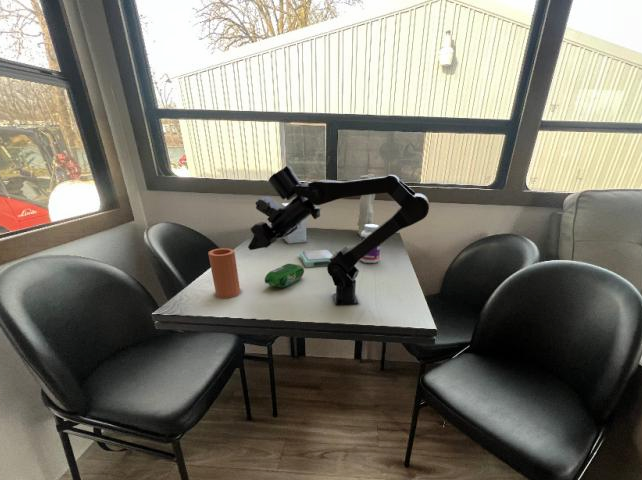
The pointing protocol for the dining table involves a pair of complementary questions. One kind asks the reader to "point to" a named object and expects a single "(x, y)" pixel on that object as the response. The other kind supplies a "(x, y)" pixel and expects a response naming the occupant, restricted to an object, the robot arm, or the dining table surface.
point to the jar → (224, 272)
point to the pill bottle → (375, 253)
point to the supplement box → (296, 232)
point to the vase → (366, 208)
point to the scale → (316, 258)
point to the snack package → (284, 275)
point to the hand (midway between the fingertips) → (257, 244)
